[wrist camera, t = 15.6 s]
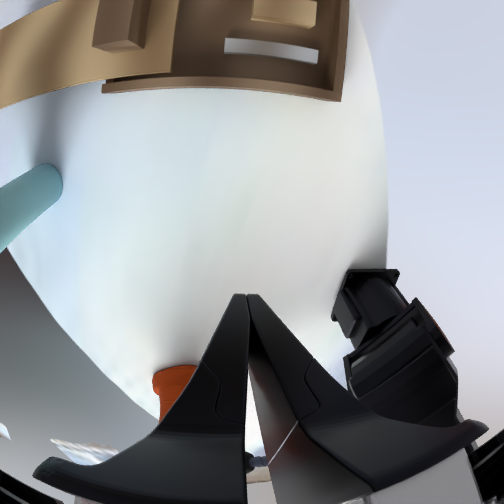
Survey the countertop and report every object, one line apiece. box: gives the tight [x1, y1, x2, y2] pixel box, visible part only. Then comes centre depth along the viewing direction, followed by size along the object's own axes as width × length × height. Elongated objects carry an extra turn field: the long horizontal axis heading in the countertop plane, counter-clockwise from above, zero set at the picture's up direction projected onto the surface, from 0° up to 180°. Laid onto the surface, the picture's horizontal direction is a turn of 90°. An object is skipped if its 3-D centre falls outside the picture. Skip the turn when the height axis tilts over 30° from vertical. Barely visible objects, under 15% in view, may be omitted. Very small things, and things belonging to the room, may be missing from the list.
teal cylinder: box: [0, 164, 63, 253], centre depth 12 cm, size 4×4×13 cm
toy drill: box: [152, 365, 268, 474], centre depth 24 cm, size 5×19×15 cm, turn 112°
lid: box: [0, 0, 180, 109], centre depth 8 cm, size 15×7×4 cm, turn 85°
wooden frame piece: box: [102, 0, 349, 102], centre depth 12 cm, size 15×9×2 cm, turn 84°
